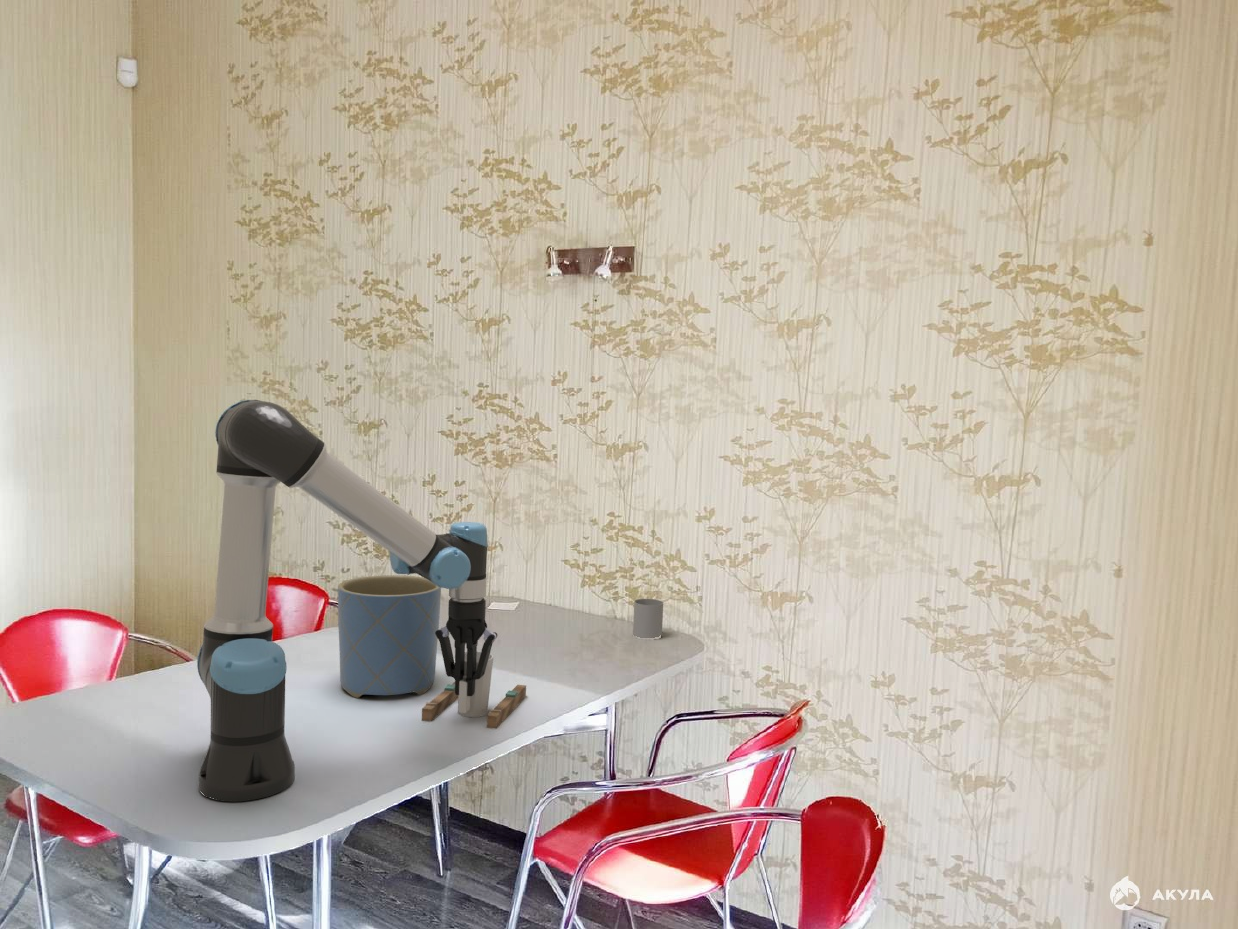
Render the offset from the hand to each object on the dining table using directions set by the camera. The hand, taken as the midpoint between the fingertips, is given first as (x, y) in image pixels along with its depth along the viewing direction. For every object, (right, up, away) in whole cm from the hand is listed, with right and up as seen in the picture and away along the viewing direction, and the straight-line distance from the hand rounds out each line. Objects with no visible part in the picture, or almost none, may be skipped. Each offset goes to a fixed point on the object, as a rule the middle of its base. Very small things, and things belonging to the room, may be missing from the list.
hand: (464, 710), depth 189 cm
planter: (-21, 0, +20) cm, 29 cm away
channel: (+1, -2, +8) cm, 8 cm away
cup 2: (+40, +1, +73) cm, 84 cm away
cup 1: (+1, -2, +5) cm, 6 cm away
